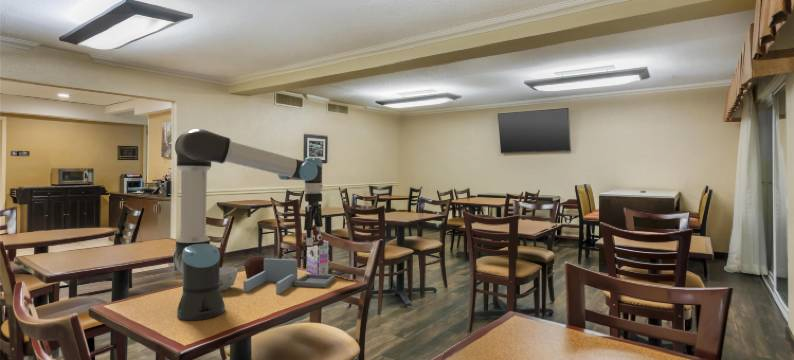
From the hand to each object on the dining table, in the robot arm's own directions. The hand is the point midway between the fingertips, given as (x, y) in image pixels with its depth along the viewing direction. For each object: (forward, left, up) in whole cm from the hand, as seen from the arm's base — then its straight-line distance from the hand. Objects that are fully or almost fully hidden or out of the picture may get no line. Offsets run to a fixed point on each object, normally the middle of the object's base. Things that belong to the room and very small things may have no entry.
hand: (313, 243), depth 188 cm
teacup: (-17, +33, -18) cm, 42 cm away
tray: (0, -1, -18) cm, 18 cm away
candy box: (+17, +4, -18) cm, 25 cm away
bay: (-9, +15, -18) cm, 25 cm away
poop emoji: (0, 0, -1) cm, 1 cm away
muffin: (+4, +29, -18) cm, 35 cm away
